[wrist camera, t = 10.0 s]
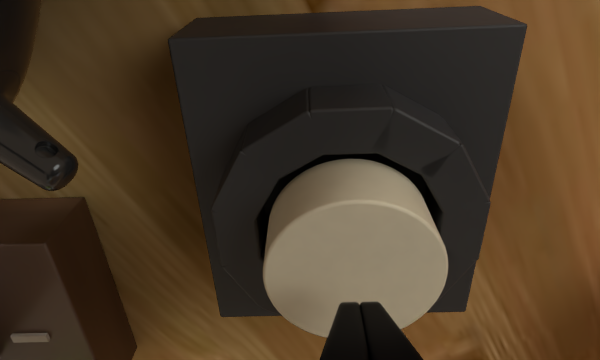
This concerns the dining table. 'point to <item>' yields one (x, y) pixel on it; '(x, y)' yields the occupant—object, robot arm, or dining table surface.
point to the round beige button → (352, 245)
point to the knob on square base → (343, 122)
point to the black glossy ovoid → (15, 123)
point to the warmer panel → (57, 285)
